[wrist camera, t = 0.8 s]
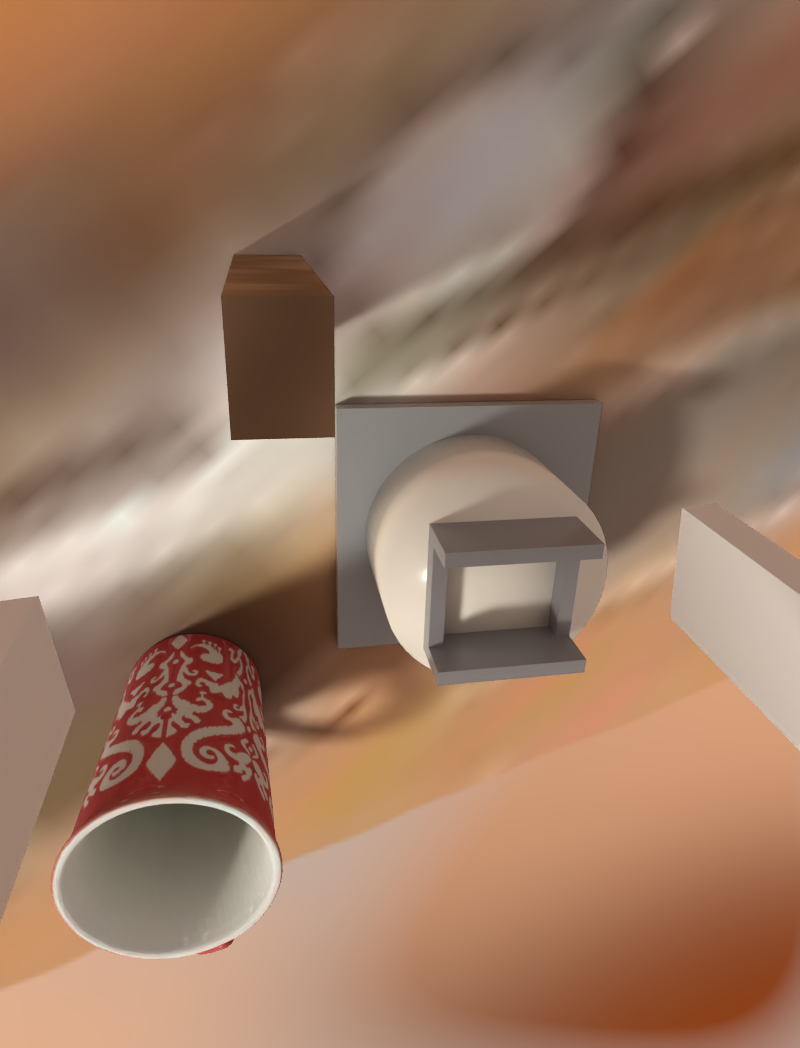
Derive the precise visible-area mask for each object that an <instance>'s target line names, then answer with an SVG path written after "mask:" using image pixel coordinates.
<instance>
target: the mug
mask: <svg viewBox="0 0 800 1048" xmlns="http://www.w3.org/2000/svg"><path fill="white" fill-rule="evenodd" d="M281 878H282V857H281V852H280V849H279V846H278V843H277V841H276V838H275V829H274V818H273V806H272V798H271V789H270V778H269V769H268V758H267V750H266V736H265V727H264V718H263V709H262V696H261V686H260V679H259V675H258V672H257V669H256V667H255V665H254V663H253V662H252V660H251V659H250V657H249V656H248V655H247V654H246V653H245V652H244V651H243V650H242V649H241V648H239V647H238V646H236V645H235V644H233V643H232V642H230V641H227V640H225V639H222V638H219V637H215V636H211V635H205V634H184V635H179V636H175V637H171V638H168V639H166V640H163V641H161V642H159V643H158V644H156V645H154V646H153V647H151V648H150V649H149V650H147V651H146V652H145V653H144V654H143V656H142V657H140V659H139V660H138V662H137V663H136V665H135V667H134V669H133V671H132V673H131V675H130V677H129V679H128V681H127V685H126V688H125V691H124V694H123V697H122V700H121V703H120V706H119V709H118V711H117V714H116V717H115V719H114V722H113V725H112V727H111V730H110V733H109V735H108V738H107V741H106V743H105V746H104V749H103V751H102V754H101V757H100V759H99V762H98V765H97V767H96V770H95V773H94V775H93V778H92V781H91V783H90V786H89V789H88V792H87V794H86V796H85V798H84V802H83V805H82V808H81V810H80V813H79V816H78V819H77V821H76V824H75V827H74V830H73V832H72V835H71V837H70V838H69V840H68V841H67V842H66V843H65V845H64V846H63V848H62V849H61V851H60V853H59V855H58V857H57V859H56V862H55V865H54V868H53V872H52V879H51V890H52V895H53V901H54V904H55V906H56V908H57V910H58V912H59V914H60V916H61V917H62V919H63V920H64V921H65V923H66V924H67V925H68V926H69V927H70V928H71V929H72V930H73V931H74V932H75V933H76V934H78V935H79V936H80V937H82V938H83V939H84V940H86V941H88V942H89V943H91V944H93V945H95V946H97V947H98V948H100V949H103V950H106V951H109V952H112V953H115V954H119V955H123V956H128V957H134V958H148V959H163V958H176V957H182V956H187V955H192V954H207V953H212V952H215V951H218V950H221V949H224V948H226V947H228V946H229V945H231V944H232V942H233V940H234V938H236V937H237V936H239V935H240V934H242V933H244V932H245V931H247V930H248V929H249V928H250V927H251V926H253V925H254V924H255V923H256V922H257V921H258V920H259V919H260V918H261V917H262V915H264V913H265V912H266V911H267V909H268V908H269V907H270V905H271V904H272V902H273V900H274V898H275V897H276V894H277V892H278V889H279V886H280V883H281Z"/></svg>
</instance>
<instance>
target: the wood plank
mask: <svg viewBox="0 0 800 1048" xmlns="http://www.w3.org/2000/svg"><path fill="white" fill-rule="evenodd" d="M221 301H222V315H223V329H224V344H225V358H226V373H227V387H228V402H229V416H230V431H231V440H250V439H286V438H323V437H335V371H334V296H333V295H332V293H331V292H330V291H329V290H328V288H327V287H326V286H325V285H324V284H323V282H322V281H321V280H320V279H319V277H318V276H317V275H316V274H315V272H314V271H313V270H312V269H311V267H310V266H309V265H308V264H307V262H306V261H305V260H304V259H303V257H302V256H295V255H236V254H234V256H233V260H232V263H231V266H230V269H229V272H228V275H227V279H226V282H225V285H224V288H223V291H222V295H221Z"/></svg>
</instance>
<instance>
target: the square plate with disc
mask: <svg viewBox="0 0 800 1048" xmlns="http://www.w3.org/2000/svg"><path fill="white" fill-rule="evenodd" d="M601 410H602V403H601V402H599V401H598V400H549V401H497V402H446V403H394V404H342V405H335V465H336V588H337V644H338V649H343V648H355V647H368V646H380V645H393V644H401V645H402V646H403V648H404V649H405V650H406V651H407V652H408V653H409V654H410V655H411V656H412V657H413V658H414V659H416V660H417V661H419V662H420V663H422V664H423V665H424V666H426V667H428V668H430V669H431V670H432V673H433V675H434V678H435V681H436V683H437V686H439V685H450V684H461V683H472V682H483V681H494V680H505V679H516V678H527V677H538V676H549V675H560V674H572V673H583V672H584V671H585V665H586V659H585V657H584V656H583V654H582V653H581V652H580V650H579V649H578V647H577V646H576V645H575V643H574V642H573V641H572V640H573V639H574V638H575V637H576V636H577V635H578V633H579V632H580V631H581V630H582V629H583V627H584V626H585V625H586V623H587V622H588V620H589V619H590V617H591V616H592V614H593V612H594V611H595V609H596V607H597V605H598V603H599V600H600V598H601V595H602V592H603V589H604V585H605V581H606V577H607V566H608V558H607V547H606V542H605V537H604V534H603V532H602V529H601V526H600V524H599V522H598V521H597V519H596V517H595V515H594V514H593V512H592V511H591V510H590V508H589V507H588V500H589V493H590V486H591V479H592V472H593V465H594V458H595V452H596V445H597V438H598V431H599V424H600V417H601Z"/></svg>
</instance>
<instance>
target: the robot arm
mask: <svg viewBox="0 0 800 1048" xmlns="http://www.w3.org/2000/svg"><path fill="white" fill-rule="evenodd" d="M670 618H671V619H672V620H673V621H674V622H675V623H676V624H677V625H678V626H679V627H680V628H681V629H682V630H683V631H684V632H685V633H686V634H687V635H688V636H689V637H690V638H691V639H692V640H693V641H694V642H695V643H696V644H697V646H698V647H699V648H700V649H701V650H702V651H703V652H704V653H705V654H706V655H707V656H708V657H709V658H710V659H711V660H712V661H713V662H714V663H715V664H716V665H717V666H718V667H719V668H720V669H721V670H722V671H723V672H724V673H725V674H726V675H727V676H728V677H729V678H730V679H731V681H732V682H733V683H734V684H736V686H737V687H738V688H739V689H740V690H741V691H742V692H743V693H744V694H745V695H746V696H747V697H748V698H749V699H750V700H751V701H752V702H753V703H754V704H755V705H756V706H757V707H758V708H759V709H760V710H761V711H762V712H763V713H764V714H765V716H766V717H767V718H768V719H769V720H770V721H771V722H772V723H773V724H774V725H775V726H776V727H777V728H778V729H779V730H780V731H781V732H782V733H783V734H784V735H785V736H786V737H787V738H788V739H789V740H790V741H791V742H792V743H793V744H794V745H795V746H796V747H797V748H798V750H800V560H799V559H797V558H796V557H794V556H793V555H791V554H790V553H788V552H787V551H785V550H784V549H782V548H781V547H779V546H778V545H776V544H775V543H773V542H772V541H770V540H769V539H768V538H766V537H765V536H763V535H762V534H760V533H759V532H757V531H756V530H754V529H753V528H751V527H750V526H748V525H747V524H745V523H744V522H742V521H741V520H739V519H738V518H737V517H735V516H734V515H732V514H731V513H729V512H728V511H726V510H725V509H723V508H722V507H720V506H719V505H717V504H716V503H712V504H705V505H697V506H690V507H683V508H682V513H681V522H680V531H679V540H678V549H677V558H676V567H675V576H674V585H673V594H672V603H671V612H670ZM74 713H75V709H74V706H73V703H72V700H71V697H70V693H69V690H68V687H67V684H66V681H65V678H64V675H63V672H62V668H61V665H60V662H59V659H58V656H57V653H56V650H55V647H54V643H53V640H52V637H51V634H50V631H49V628H48V625H47V621H46V618H45V615H44V612H43V609H42V606H41V603H40V600H39V596H36V597H29V598H21V599H14V600H7V601H0V922H1V919H2V917H3V914H4V911H5V908H6V905H7V902H8V900H9V897H10V894H11V891H12V888H13V886H14V883H15V880H16V877H17V874H18V871H19V869H20V866H21V863H22V860H23V857H24V855H25V852H26V849H27V846H28V843H29V840H30V838H31V835H32V832H33V829H34V826H35V823H36V821H37V818H38V815H39V812H40V809H41V807H42V804H43V801H44V798H45V795H46V792H47V790H48V787H49V784H50V781H51V778H52V776H53V773H54V770H55V767H56V764H57V761H58V759H59V756H60V753H61V750H62V747H63V744H64V742H65V739H66V736H67V733H68V730H69V728H70V725H71V722H72V719H73V716H74Z"/></svg>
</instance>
